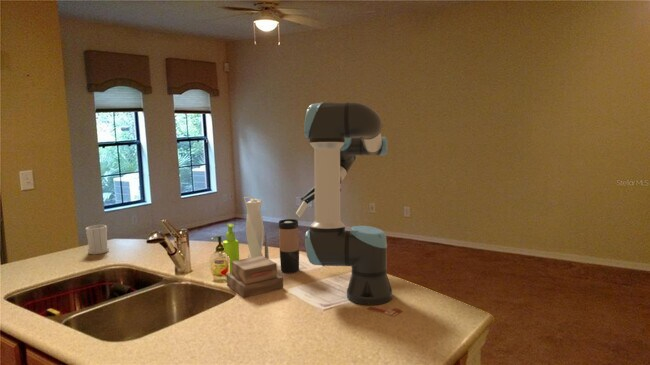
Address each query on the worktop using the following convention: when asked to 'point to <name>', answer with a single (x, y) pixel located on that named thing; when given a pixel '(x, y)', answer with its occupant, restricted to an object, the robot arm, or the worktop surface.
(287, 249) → the travel mug
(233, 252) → the soap dispenser
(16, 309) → the worktop surface
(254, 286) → the stack of brown boxes
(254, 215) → the white twisted vase
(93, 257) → the worktop surface
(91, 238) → the cup
